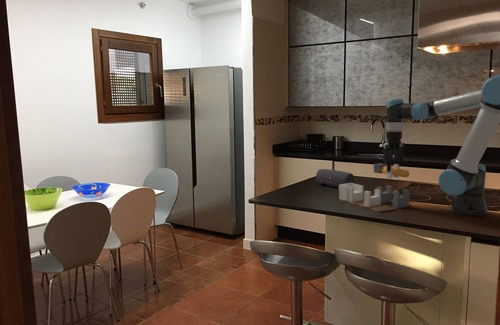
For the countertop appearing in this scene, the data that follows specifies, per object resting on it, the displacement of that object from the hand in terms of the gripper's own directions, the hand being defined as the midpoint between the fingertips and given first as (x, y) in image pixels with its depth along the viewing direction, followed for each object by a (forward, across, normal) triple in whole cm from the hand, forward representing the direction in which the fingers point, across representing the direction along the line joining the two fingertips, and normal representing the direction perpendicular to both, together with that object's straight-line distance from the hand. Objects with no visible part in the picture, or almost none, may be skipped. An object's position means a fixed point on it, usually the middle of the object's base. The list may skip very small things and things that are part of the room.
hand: (392, 177), depth 210 cm
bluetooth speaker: (+13, -5, -50) cm, 52 cm away
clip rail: (+14, +12, -6) cm, 19 cm away
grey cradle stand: (+14, 0, +1) cm, 14 cm away
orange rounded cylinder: (-1, 0, -1) cm, 1 cm away
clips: (+13, +12, -11) cm, 21 cm away
